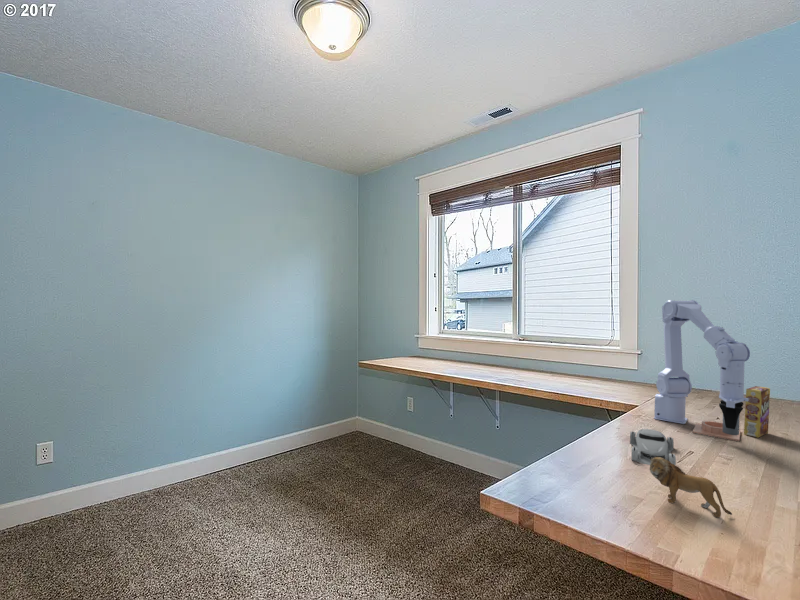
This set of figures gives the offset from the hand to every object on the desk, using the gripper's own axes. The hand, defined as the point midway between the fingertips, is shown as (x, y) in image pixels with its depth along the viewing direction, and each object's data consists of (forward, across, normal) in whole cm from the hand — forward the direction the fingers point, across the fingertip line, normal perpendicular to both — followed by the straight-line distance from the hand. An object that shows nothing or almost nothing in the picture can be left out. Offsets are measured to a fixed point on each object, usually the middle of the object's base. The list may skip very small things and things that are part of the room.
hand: (730, 426), depth 127 cm
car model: (+6, -23, +17) cm, 29 cm away
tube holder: (+6, +11, +4) cm, 13 cm away
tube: (+2, 0, 0) cm, 2 cm away
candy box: (+6, +18, -6) cm, 20 cm away
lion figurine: (+6, -54, +6) cm, 55 cm away
